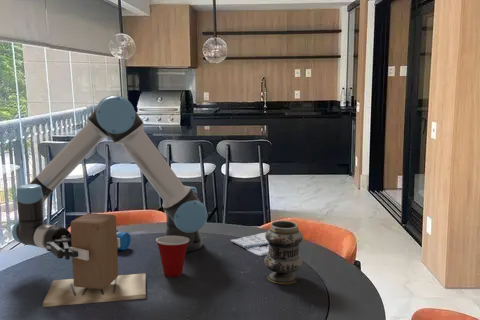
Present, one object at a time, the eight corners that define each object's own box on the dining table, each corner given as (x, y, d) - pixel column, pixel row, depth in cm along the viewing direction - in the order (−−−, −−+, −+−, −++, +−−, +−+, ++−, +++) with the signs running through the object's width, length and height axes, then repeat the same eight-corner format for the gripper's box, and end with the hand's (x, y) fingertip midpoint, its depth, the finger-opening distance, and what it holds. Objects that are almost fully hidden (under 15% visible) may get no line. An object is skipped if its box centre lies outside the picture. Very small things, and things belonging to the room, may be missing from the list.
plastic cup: (195, 269, 160) (194, 235, 158) (181, 282, 150) (180, 245, 148) (166, 265, 164) (165, 232, 162) (150, 277, 153) (149, 241, 152)
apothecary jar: (297, 288, 145) (298, 231, 142) (259, 283, 149) (259, 227, 146) (305, 274, 156) (306, 220, 153) (270, 269, 160) (270, 217, 158)
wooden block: (104, 290, 137) (101, 223, 134) (72, 287, 139) (68, 221, 136) (119, 277, 147) (117, 214, 144) (89, 274, 149) (86, 212, 146)
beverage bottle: (72, 233, 181) (116, 242, 174) (85, 218, 187) (128, 225, 180) (80, 249, 186) (123, 257, 179) (92, 233, 192) (134, 241, 185)
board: (145, 276, 154) (145, 273, 154) (145, 298, 139) (145, 293, 138) (53, 284, 149) (53, 280, 149) (43, 306, 133) (42, 302, 133)
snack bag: (269, 235, 198) (269, 230, 198) (299, 249, 181) (300, 244, 181) (229, 243, 189) (229, 238, 188) (257, 258, 172) (257, 253, 171)
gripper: (83, 238, 161) (132, 249, 151) (19, 261, 140) (72, 275, 130) (81, 217, 160) (131, 226, 150) (18, 236, 139) (70, 248, 129)
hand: (104, 249), depth 140 cm, fingers closed on wooden block, 12 cm apart
